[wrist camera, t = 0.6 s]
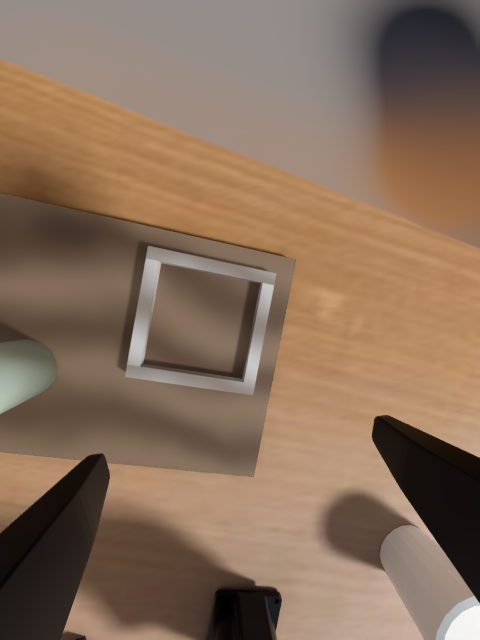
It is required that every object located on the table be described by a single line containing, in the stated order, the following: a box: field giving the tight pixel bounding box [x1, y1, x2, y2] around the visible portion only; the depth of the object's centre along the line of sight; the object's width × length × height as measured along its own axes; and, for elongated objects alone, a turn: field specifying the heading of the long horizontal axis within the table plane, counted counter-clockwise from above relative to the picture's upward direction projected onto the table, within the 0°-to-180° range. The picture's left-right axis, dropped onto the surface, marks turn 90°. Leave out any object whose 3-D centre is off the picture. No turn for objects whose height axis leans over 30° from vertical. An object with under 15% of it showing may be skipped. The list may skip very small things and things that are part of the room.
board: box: [0, 193, 296, 477], centre depth 20 cm, size 20×24×2 cm
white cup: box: [380, 525, 480, 640], centre depth 22 cm, size 7×7×7 cm
